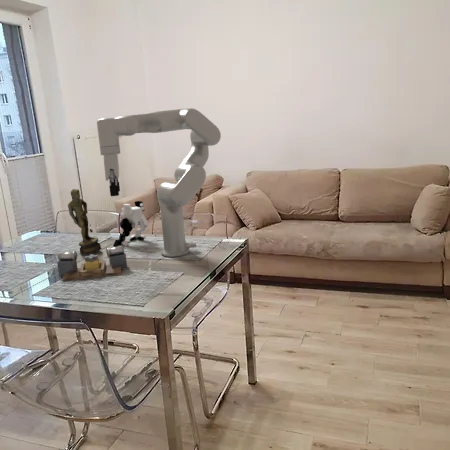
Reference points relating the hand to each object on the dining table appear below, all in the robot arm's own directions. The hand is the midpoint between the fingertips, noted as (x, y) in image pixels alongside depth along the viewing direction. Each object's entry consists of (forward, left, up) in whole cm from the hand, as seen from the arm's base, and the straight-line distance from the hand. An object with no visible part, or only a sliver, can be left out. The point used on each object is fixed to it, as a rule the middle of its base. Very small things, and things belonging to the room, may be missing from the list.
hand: (115, 193), depth 188 cm
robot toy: (-3, -35, -31) cm, 47 cm away
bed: (+12, +5, -30) cm, 33 cm away
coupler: (+12, +5, -29) cm, 32 cm away
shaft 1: (+21, +3, -30) cm, 37 cm away
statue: (+16, -25, -31) cm, 43 cm away
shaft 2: (+3, +3, -30) cm, 31 cm away
